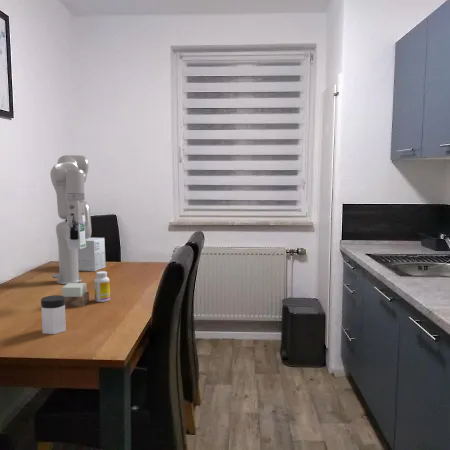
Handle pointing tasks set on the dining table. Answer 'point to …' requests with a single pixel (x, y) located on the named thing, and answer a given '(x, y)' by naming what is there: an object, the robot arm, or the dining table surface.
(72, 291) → the top block
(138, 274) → the dining table surface
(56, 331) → the jar
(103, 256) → the supplement box
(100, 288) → the supplement bottle
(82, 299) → the bottom block
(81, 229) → the syrup box
